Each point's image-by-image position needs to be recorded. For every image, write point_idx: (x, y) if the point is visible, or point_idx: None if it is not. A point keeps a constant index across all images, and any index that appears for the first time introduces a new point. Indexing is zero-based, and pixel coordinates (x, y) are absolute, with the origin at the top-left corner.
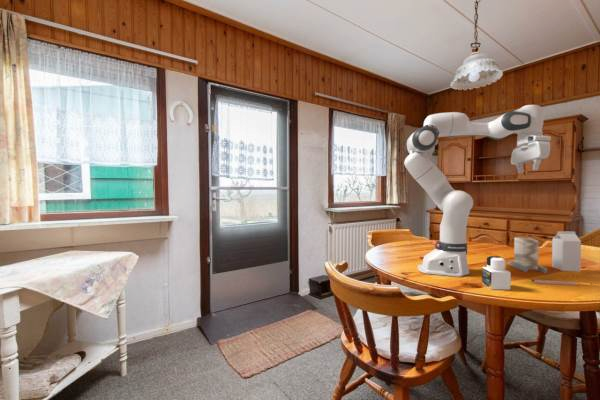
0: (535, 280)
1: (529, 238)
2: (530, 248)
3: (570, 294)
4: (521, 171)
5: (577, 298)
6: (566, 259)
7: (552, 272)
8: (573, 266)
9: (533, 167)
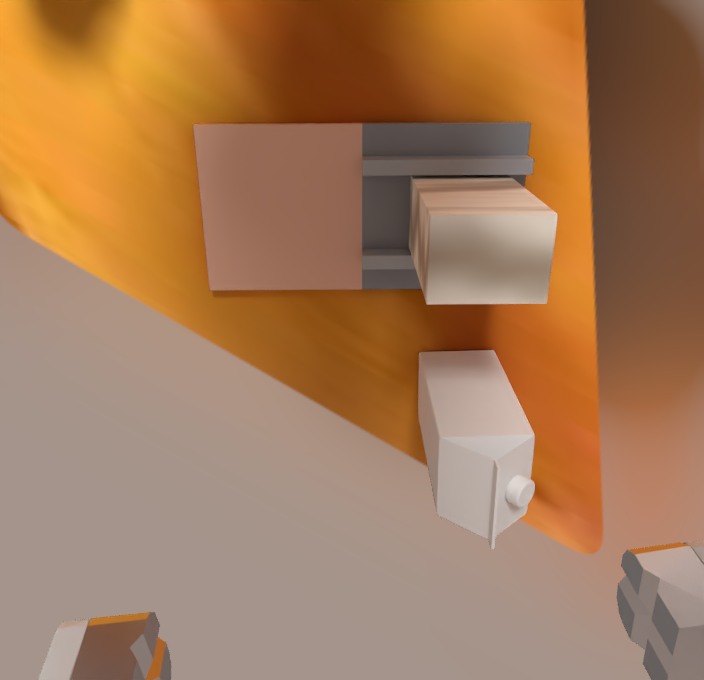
0: (201, 126)
1: (514, 294)
2: (421, 242)
3: (64, 183)
4: (638, 597)
5: (16, 179)
6: (426, 397)
7: (422, 312)
8: (421, 407)
9: (66, 661)
